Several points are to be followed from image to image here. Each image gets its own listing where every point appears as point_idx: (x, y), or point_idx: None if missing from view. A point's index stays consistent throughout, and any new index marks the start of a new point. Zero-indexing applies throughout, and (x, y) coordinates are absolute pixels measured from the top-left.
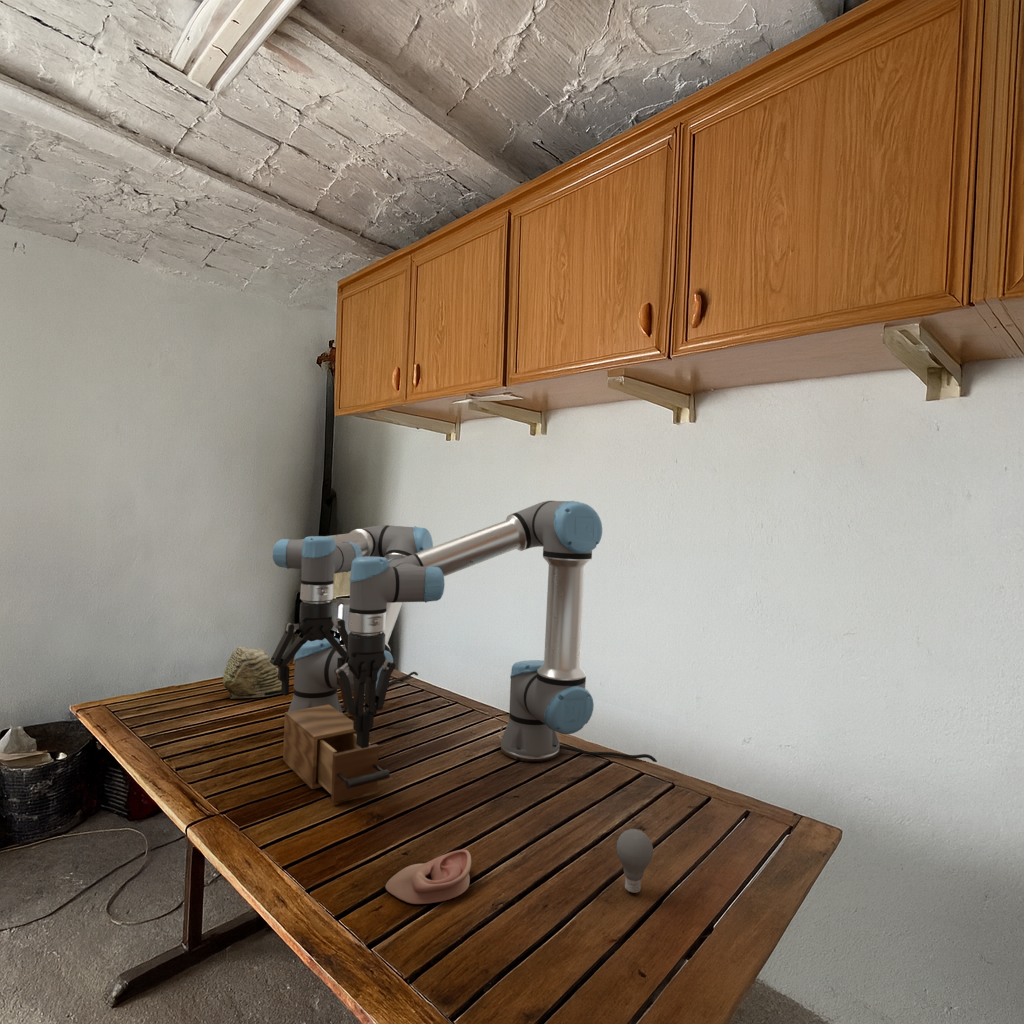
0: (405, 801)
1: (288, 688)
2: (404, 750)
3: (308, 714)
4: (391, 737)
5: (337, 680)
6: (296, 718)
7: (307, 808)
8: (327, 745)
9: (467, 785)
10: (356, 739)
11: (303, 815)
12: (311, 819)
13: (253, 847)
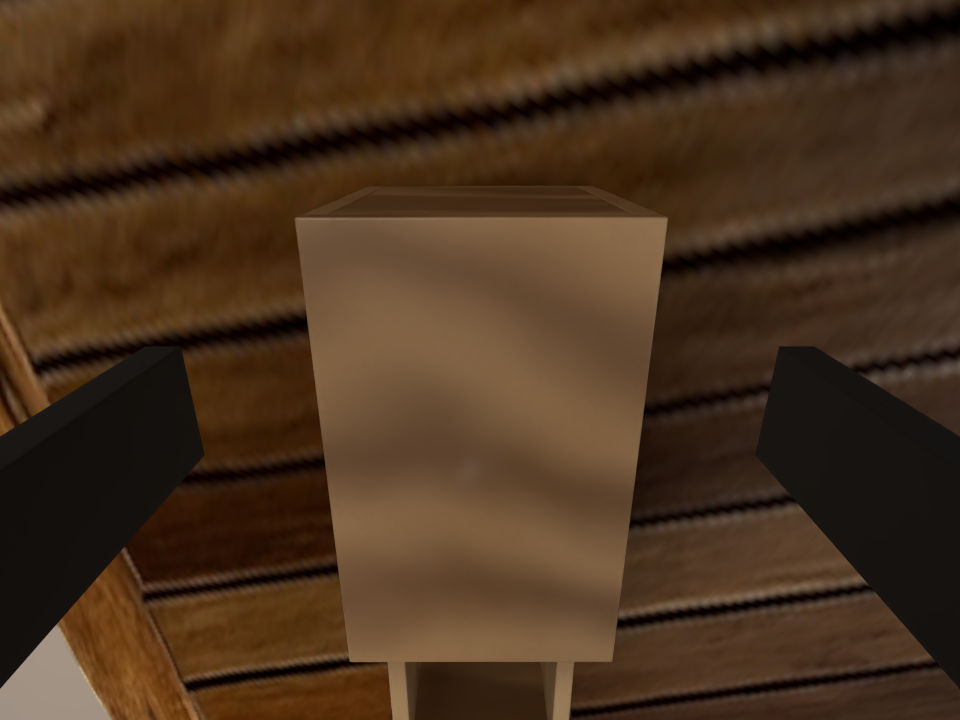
0: (598, 676)
1: (165, 495)
2: (865, 376)
3: (437, 355)
4: (943, 202)
5: (800, 383)
6: (339, 388)
7: (340, 588)
8: (396, 694)
9: (804, 687)
10: (553, 662)
11: (318, 613)
12: (332, 639)
13: (169, 678)
